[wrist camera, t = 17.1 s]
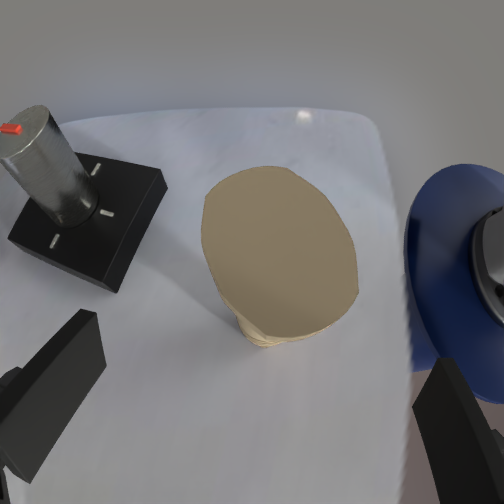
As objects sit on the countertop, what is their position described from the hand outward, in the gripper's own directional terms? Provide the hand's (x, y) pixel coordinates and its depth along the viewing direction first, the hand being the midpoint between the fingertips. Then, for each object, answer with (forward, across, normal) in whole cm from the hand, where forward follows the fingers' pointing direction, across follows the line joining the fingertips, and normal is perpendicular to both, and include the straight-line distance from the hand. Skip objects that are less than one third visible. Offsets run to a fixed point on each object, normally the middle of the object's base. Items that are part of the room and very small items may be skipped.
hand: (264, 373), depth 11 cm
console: (+17, -18, -1) cm, 25 cm away
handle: (+12, 0, -6) cm, 14 cm away
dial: (+15, -18, +1) cm, 24 cm away
